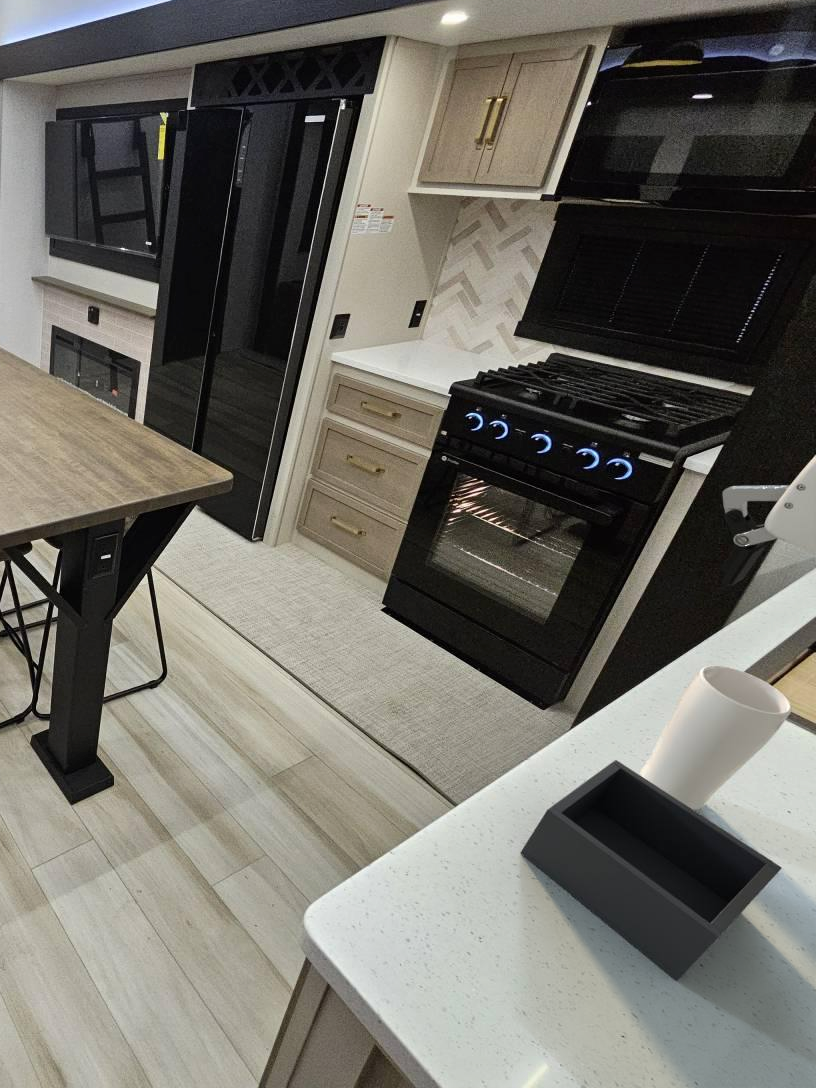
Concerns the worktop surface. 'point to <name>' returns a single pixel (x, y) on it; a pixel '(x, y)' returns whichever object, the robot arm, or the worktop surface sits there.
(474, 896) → the worktop surface
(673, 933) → the bin
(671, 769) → the white cup
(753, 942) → the worktop surface
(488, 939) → the worktop surface
